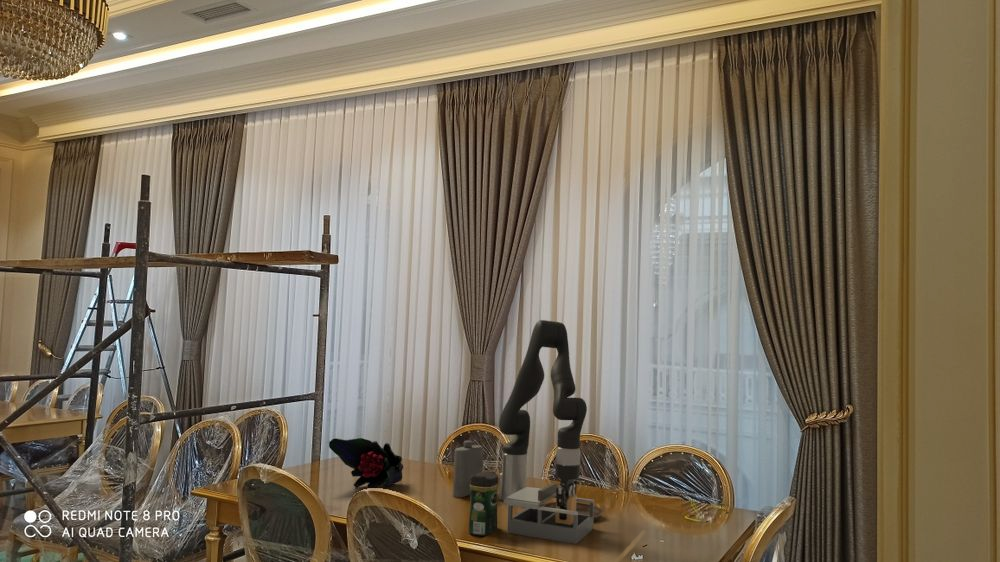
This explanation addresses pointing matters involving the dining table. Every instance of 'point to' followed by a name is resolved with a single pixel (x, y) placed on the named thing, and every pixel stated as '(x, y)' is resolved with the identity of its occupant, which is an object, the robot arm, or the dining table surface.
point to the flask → (466, 467)
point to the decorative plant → (369, 461)
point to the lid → (532, 496)
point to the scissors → (696, 511)
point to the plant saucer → (581, 509)
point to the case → (550, 523)
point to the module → (570, 506)
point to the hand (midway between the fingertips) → (565, 517)
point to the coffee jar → (483, 503)
